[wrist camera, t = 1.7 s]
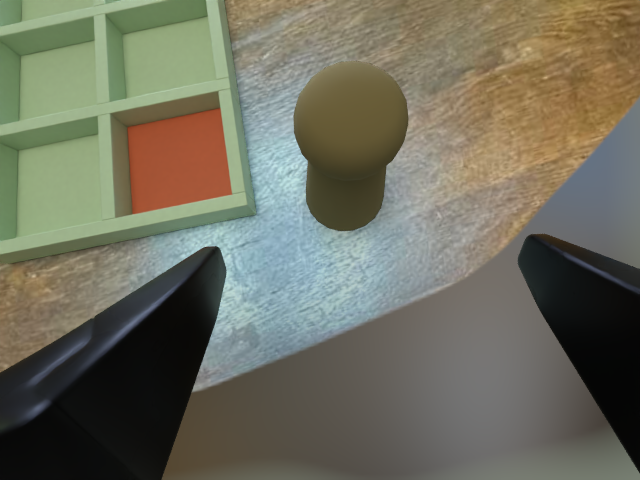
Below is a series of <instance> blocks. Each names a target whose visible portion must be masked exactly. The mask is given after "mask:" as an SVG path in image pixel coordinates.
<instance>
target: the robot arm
mask: <svg viewBox="0 0 640 480" xmlns="http://www.w3.org/2000/svg"><path fill="white" fill-rule="evenodd" d="M518 265H519V268H520V270H521V272H522V274H523V276H524V278H525V281H526V283H527V285H528V287H529V289H530V291H531V293H532V295H533V297H534V300H535V302H536V304H537V306H538V308H539V309H540V311H541V313H542V315H543V317H544V318H545V320H546V322H547V323H548V325H549V326H550V328H551V330H552V331H553V333H554V335H555V336H556V338H557V339H558V341H559V343H560V344H561V346H562V348H563V349H564V351H565V352H566V354H567V356H568V357H569V359H570V361H571V362H572V364H573V365H574V367H575V369H576V370H577V372H578V374H579V375H580V377H581V379H582V380H583V382H584V383H585V385H586V387H587V388H588V390H589V392H590V393H591V395H592V396H593V398H594V400H595V401H596V403H597V405H598V406H599V408H600V410H601V411H602V413H603V414H604V416H605V418H606V419H607V421H608V423H609V424H610V426H611V427H612V429H613V431H614V432H615V434H616V436H617V437H618V439H619V440H620V442H621V444H622V445H623V447H624V448H625V450H626V452H627V453H628V455H629V457H630V458H631V460H632V462H633V463H634V465H635V467H636V468H637V470H638V471H639V473H640V269H638V268H635V267H633V266H630V265H627V264H625V263H622V262H619V261H616V260H614V259H611V258H609V257H606V256H603V255H601V254H598V253H595V252H592V251H590V250H587V249H585V248H582V247H579V246H577V245H574V244H571V243H568V242H566V241H563V240H560V239H558V238H555V237H552V236H550V235H547V234H531V235H529V236H528V237H527V238H526V239H525V241H524V244H523V246H522V249H521V251H520V254H519V256H518ZM225 278H226V266H225V263H224V260H223V256H222V253H221V250H220V248H219V247H217V246H212V247H204V248H202V249H200V250H199V251H197V252H196V253H194V254H192V255H191V256H189V257H188V258H186V259H185V260H183V261H181V262H180V263H178V264H177V265H175V266H173V267H172V268H170V269H169V270H167V271H166V272H164V273H162V274H161V275H159V276H158V277H156V278H155V279H153V280H151V281H150V282H148V283H147V284H145V285H143V286H142V287H140V288H139V289H137V290H136V291H134V292H132V293H131V294H129V295H128V296H126V297H125V298H123V299H121V300H120V301H118V302H117V303H115V304H113V305H112V306H110V307H109V308H107V309H106V310H104V311H102V312H101V313H99V314H98V315H96V316H95V317H94V319H93V318H92V319H90V320H88V321H87V322H85V323H83V324H82V325H80V326H79V327H77V328H76V329H74V330H72V331H71V332H69V333H67V334H66V335H64V336H62V337H61V338H59V339H58V340H56V341H54V342H53V343H51V344H49V345H48V346H46V347H44V348H42V349H41V350H39V351H37V352H36V353H34V354H32V355H30V356H29V357H27V358H25V359H23V360H22V361H20V362H18V363H16V364H15V365H13V366H11V367H9V368H8V369H6V370H4V371H2V372H1V373H0V480H161V479H162V476H163V473H164V470H165V467H166V465H167V462H168V459H169V456H170V453H171V450H172V447H173V444H174V441H175V439H176V436H177V433H178V430H179V427H180V424H181V421H182V418H183V415H184V412H185V410H186V407H187V403H188V401H189V398H190V395H191V392H192V389H193V386H194V383H195V381H196V378H197V375H198V372H199V369H200V366H201V363H202V360H203V357H204V354H205V351H206V349H207V346H208V343H209V340H210V337H211V334H212V331H213V328H214V325H215V322H216V319H217V315H218V311H219V306H220V302H221V297H222V292H223V288H224V283H225Z"/></svg>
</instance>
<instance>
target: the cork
mask: <svg viewBox="0 0 640 480" xmlns="http://www.w3.org/2000/svg"><path fill="white" fill-rule="evenodd" d="M407 127H408V110H407V102H406V99H405V97H404V95H403V93H402V91H401V89H400V87H399V85H398V84H397V82H396V81H395V80H394V79H393V78H392V77H391V76H390V75H389V74H388V73H387V72H386V71H385V70H383V69H381V68H379V67H377V66H375V65H373V64H371V63H365V62H360V61H346V62H339V63H336V64H333V65H331V66H328V67H325V68H324V69H323V70H321V71H320V72H318V73H317V74H316V75H314V76H313V77H312V78H311V79H310V81H309V82H308V83H307V85H306V86H305V87H304V89H303V90H302V91H301V93H300V94H299V97H298V101H297V104H296V107H295V111H294V134H295V137H296V140H297V143H298V145H299V148H300V150H301V153H302V155H303V156H304V157H305V158H306V159H307V160H308V166H307V181H306V202H307V205H308V207H309V210H310V212H311V214H312V215H313V216H314V217H315V218H316V220H317V221H318V222H320V223H321V224H323V225H324V226H326V227H328V228H330V229H334V230H338V231H351V230H355V229H358V228H361V227H363V226H365V225H367V224H368V223H369V222H370V221H372V220H373V219H374V218H375V216H376V215H377V213H378V212H379V210H380V209H381V206H382V201H383V197H384V187H385V175H386V165H387V164H389V163H390V162H391V161H392V160H393V159H394V157H395V156H396V154H397V153H398V151H399V150H400V148H401V146H402V144H403V142H404V140H405V136H406V131H407Z"/></svg>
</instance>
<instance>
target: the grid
mask: <svg viewBox="0 0 640 480" xmlns="http://www.w3.org/2000/svg"><path fill="white" fill-rule="evenodd" d="M251 215H256V207H255V201H254V194H253V187H252V181H251V174H250V167H249V161H248V154H247V148H246V141H245V134H244V128H243V121H242V115H241V108H240V101H239V95H238V88H237V81H236V75H235V68H234V62H233V55H232V48H231V42H230V35H229V29H228V22H227V15H226V9H225V2H224V0H0V263H7V264H11V263H16V262H21V261H26V260H31V259H36V258H41V257H46V256H51V255H56V254H61V253H66V252H71V251H76V250H81V249H86V248H91V247H96V246H101V245H106V244H111V243H116V242H121V241H126V240H131V239H136V238H141V237H146V236H151V235H156V234H161V233H166V232H171V231H176V230H181V229H186V228H191V227H196V226H201V225H206V224H211V223H216V222H221V221H226V220H231V219H236V218H241V217H246V216H251Z"/></svg>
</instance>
